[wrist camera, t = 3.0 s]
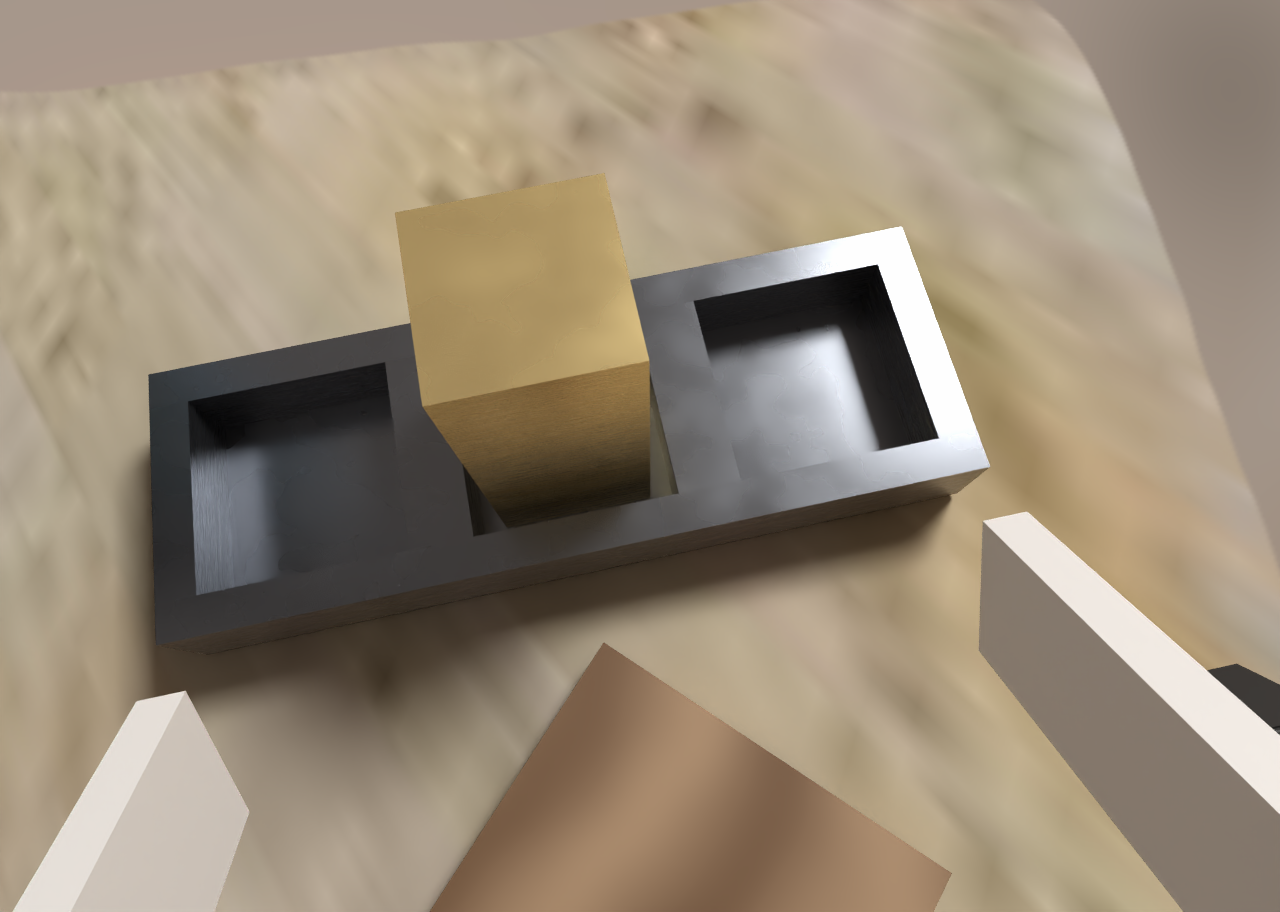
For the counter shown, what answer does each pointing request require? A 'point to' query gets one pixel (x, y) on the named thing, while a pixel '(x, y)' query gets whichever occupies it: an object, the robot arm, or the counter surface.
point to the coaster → (675, 820)
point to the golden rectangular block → (531, 346)
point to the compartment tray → (567, 545)
